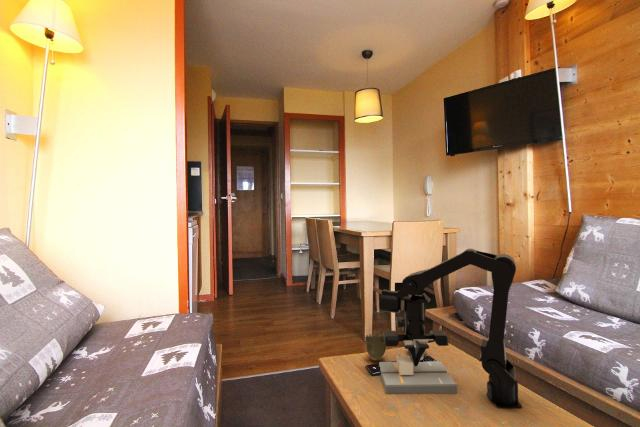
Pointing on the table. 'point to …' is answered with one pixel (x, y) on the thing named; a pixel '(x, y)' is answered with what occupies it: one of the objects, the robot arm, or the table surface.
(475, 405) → the table surface
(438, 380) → the console board
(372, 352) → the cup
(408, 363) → the fader cap
